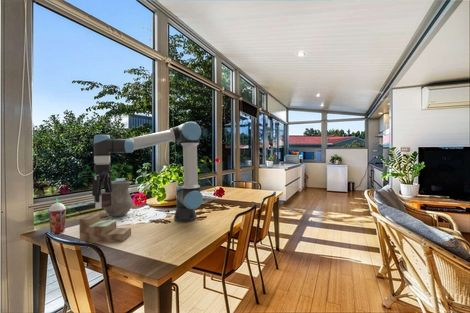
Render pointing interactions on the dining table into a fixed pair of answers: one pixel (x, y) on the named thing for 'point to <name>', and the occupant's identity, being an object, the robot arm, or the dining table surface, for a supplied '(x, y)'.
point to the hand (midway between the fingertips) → (103, 206)
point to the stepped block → (101, 230)
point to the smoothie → (57, 217)
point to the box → (105, 199)
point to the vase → (119, 199)
